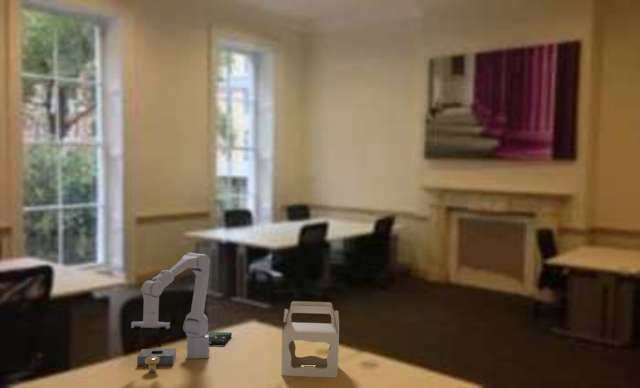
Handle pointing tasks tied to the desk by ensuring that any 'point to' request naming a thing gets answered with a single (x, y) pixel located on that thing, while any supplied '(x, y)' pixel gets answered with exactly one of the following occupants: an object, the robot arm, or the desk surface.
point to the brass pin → (152, 363)
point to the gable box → (310, 334)
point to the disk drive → (219, 338)
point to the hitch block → (165, 356)
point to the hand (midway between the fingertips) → (149, 346)
